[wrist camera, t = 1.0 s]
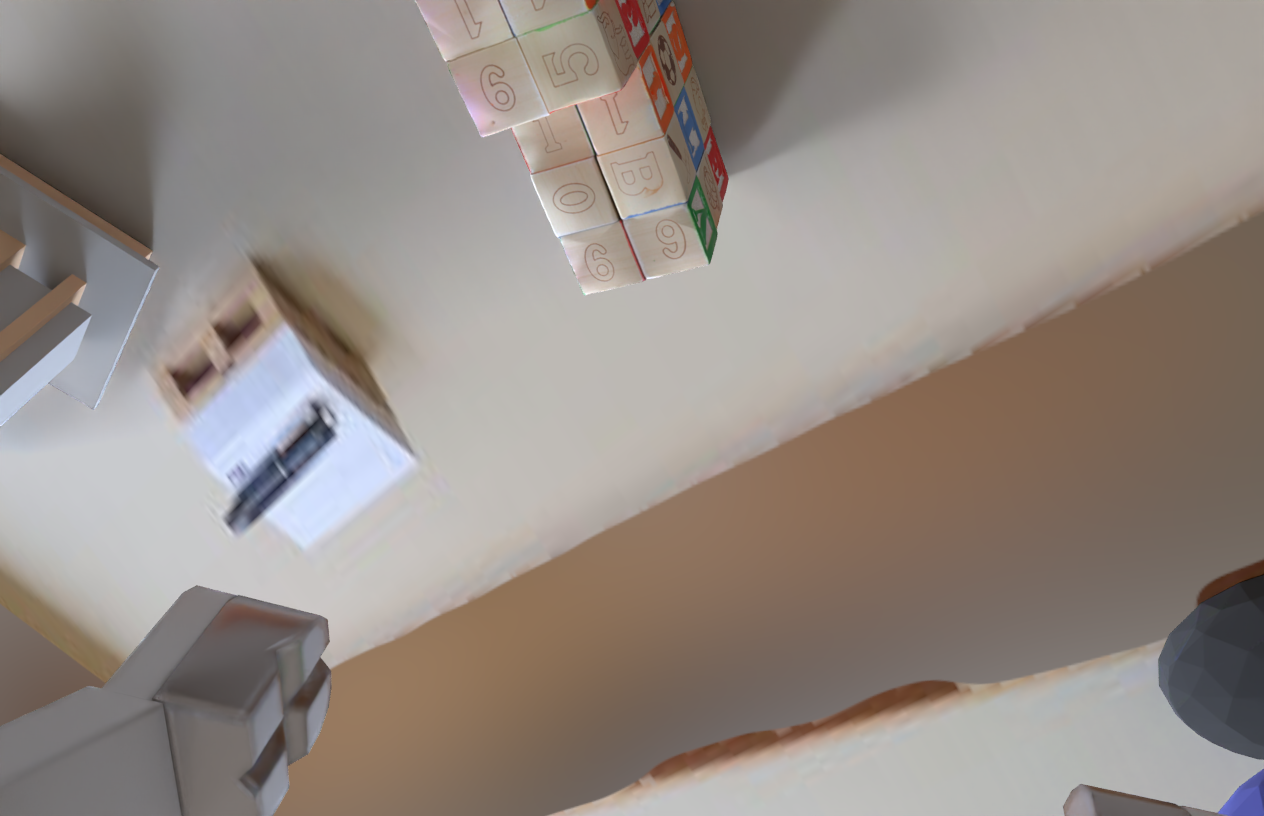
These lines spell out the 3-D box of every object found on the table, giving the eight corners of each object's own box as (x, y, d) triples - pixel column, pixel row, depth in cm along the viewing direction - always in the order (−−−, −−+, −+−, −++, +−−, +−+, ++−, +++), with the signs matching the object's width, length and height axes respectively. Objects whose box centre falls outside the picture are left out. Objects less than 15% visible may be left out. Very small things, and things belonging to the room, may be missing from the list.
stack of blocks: (734, 179, 52) (702, 304, 42) (619, 209, 54) (564, 335, 44) (576, -309, 41) (485, -290, 31) (440, -247, 43) (315, -211, 34)
